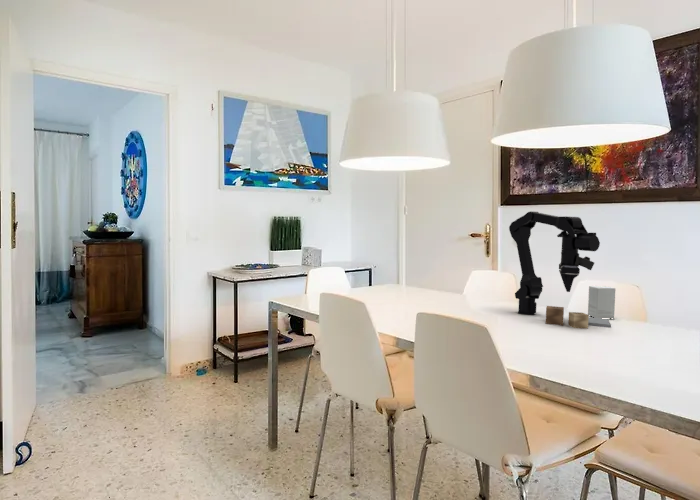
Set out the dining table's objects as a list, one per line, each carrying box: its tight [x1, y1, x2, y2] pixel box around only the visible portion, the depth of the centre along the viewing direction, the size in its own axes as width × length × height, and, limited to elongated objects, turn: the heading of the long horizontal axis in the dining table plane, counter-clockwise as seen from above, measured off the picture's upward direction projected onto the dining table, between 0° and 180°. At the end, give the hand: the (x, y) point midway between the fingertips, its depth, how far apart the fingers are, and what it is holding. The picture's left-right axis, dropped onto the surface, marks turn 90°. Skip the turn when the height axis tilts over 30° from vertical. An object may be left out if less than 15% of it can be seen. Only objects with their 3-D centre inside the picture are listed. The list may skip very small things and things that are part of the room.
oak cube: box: [567, 311, 590, 329], centre depth 171 cm, size 5×5×5 cm
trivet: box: [588, 316, 612, 328], centre depth 179 cm, size 12×12×1 cm
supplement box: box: [587, 285, 616, 320], centre depth 190 cm, size 7×7×13 cm
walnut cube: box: [545, 305, 565, 326], centre depth 177 cm, size 6×6×6 cm
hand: (567, 290), depth 178 cm, fingers open, 9 cm apart
